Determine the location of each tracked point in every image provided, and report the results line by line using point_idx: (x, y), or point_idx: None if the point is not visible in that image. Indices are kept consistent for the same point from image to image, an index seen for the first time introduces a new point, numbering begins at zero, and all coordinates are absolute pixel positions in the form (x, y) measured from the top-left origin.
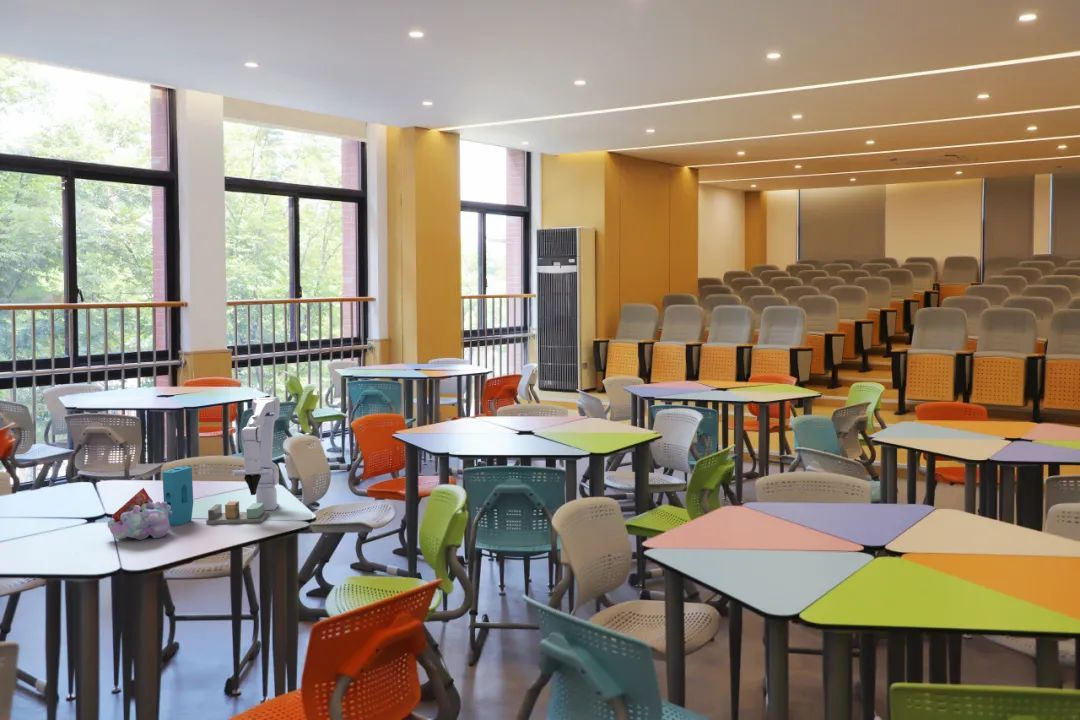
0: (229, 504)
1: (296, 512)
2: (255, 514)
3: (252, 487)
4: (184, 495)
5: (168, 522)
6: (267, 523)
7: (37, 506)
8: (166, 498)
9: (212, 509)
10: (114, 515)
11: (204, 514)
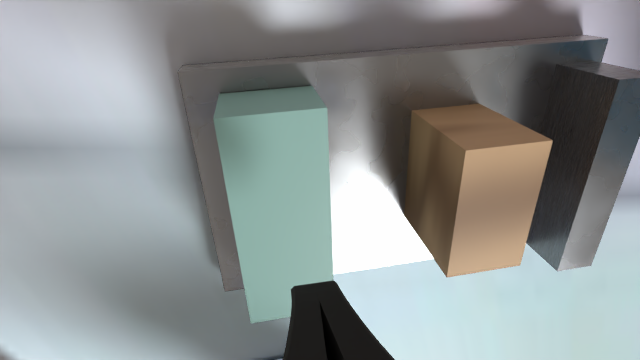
0: (513, 157)
1: (73, 341)
2: (237, 100)
3: (326, 357)
4: None
5: None
6: (114, 39)
7: None
8: None
9: (625, 107)
10: None
11: (588, 267)
